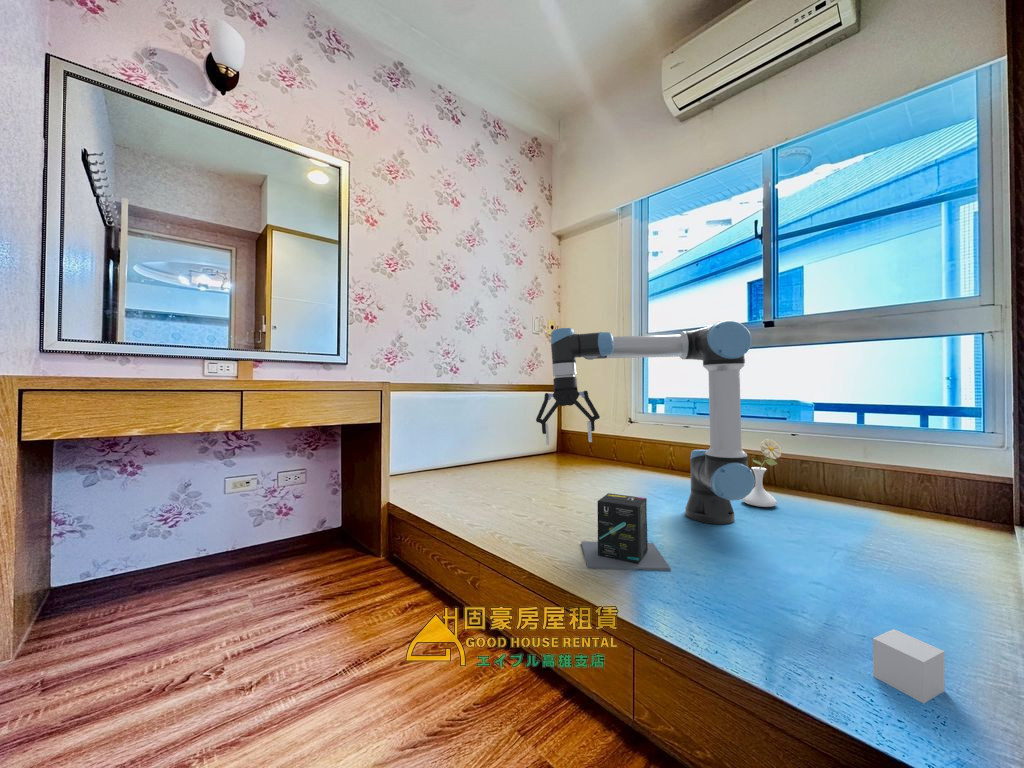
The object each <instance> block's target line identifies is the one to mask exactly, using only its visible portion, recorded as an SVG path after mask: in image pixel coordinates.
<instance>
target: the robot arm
mask: <svg viewBox="0 0 1024 768" xmlns="http://www.w3.org/2000/svg"><path fill="white" fill-rule="evenodd" d="M550 346H551V347H550V349H551V361H552V365H551V366H552V376H553V377H554V378H553V379H552V381H553V392H552V393H548V392H545V393H544V397H543V398H544V399H543V401H542V404H541V407H540V409H539V411H538V414H537V416H536V417H535V421H536V423H540V424H541V431H542V432H541V433H542V435H545V441H546V445H548V446H549V445H550V438H549V437H550V436H549V424H548V420H549V419H550V418H551V416H552V415H553V413H554V412H555V411H556V410H557V408H558V407H559V406H561V407H566V406H569V407H570V406H573V405H574V406H575V407H577V408H578V410H579V411H581V413H583V415H584V416H585V417H586V418H587V419H588V420H587V421H586V422H587V423H586V425H587V437H588V442H589V443H593V436H592V435H593V432H595V422H596V420H599V419H600V414H599V413H598V411H597V409H596V408H595V406H594V404H593V403H592V401H591V399H590V397H589V396H590V395H589V392H588V390H584V391H579V390H578V378H577V376H576V375H578V374H577V361H576V359H577V358H583V359H585V360H588V361H589V360H591V361H593V360H596V359H597V360H600V359H601V360H602V359H630V358H631V359H635V358H639V359H640V358H668V357H669V358H673V357H674V358H675V357H677V358H678V357H679V358H680V359H681V360H694V361H695V360H697V361H702V367H703V368H704V369H706V371H708V402H709V403H708V406H709V409H708V410H709V444H710V445H709V448H708V449H693V450H691V452H690V457H689V461H690V494H689V497H688V500H687V503H686V506H685V507H684V508H685V516H686V517H688V518H689V519H691V520H693V521H696V522H697V521H698V522H701V523H705V524H706V523H707V524H715V525H716V524H717V525H723V524H724V525H725V524H731V523H733V522H735V518H736V517H735V511H734V509H733V505H732V503H731V501H740V500H742V499H743V498H745V497H746V496H748V495H749V494H750V493H751V492H752V490H753V489H754V488H755V484H756V480H755V474H754V472H753V470H752V469H751V468H750V467H749V466H748V464H749V463H748V461H749V460H748V454H747V452H745V451H744V449H743V448H742V421H741V420H742V418H741V413H742V412H741V411H742V410H741V375H740V371H741V370H742V368H743V367H745V366H746V354H747V353H748V352H749V350H750V349H751V346H752V335H751V332H750V331H749V328H747V327H746V326H745V325H744V324H743V323H742V322H739V321H736V320H731V319H730V320H729V319H727V320H723V321H717V322H715V323H713V324H711V325H708V326H705V327H702V328H699V329H695V330H690V331H681V332H680V333H679V334H662V335H661V334H658V335H657V334H655V335H628V336H627V335H626V336H625V335H624V336H613V333H611V332H608V331H607V332H605V331H599V332H590V333H575V330H574V328H572V327H560V328H555V329H553V330H552V331H551V332H550ZM579 397H581V398H583V399H584V401H585V403H586V405H587V406H588V408H589V410H590V412H591V413H592V415H591V413H589V412H588V411H587V409H586V408H585V407H584V406H583V405H582V403H580V402H579V401H578V398H579ZM552 398H553V399H554V400H555V402H554V404H553V405H552V406H551V407H550V409H549V411H547V412H546V415H545V416H544V417H543V415H544V412H545V410H546V407H547V405H548V403H549V401H550V400H551V399H552ZM542 417H543V419H542Z"/></svg>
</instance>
